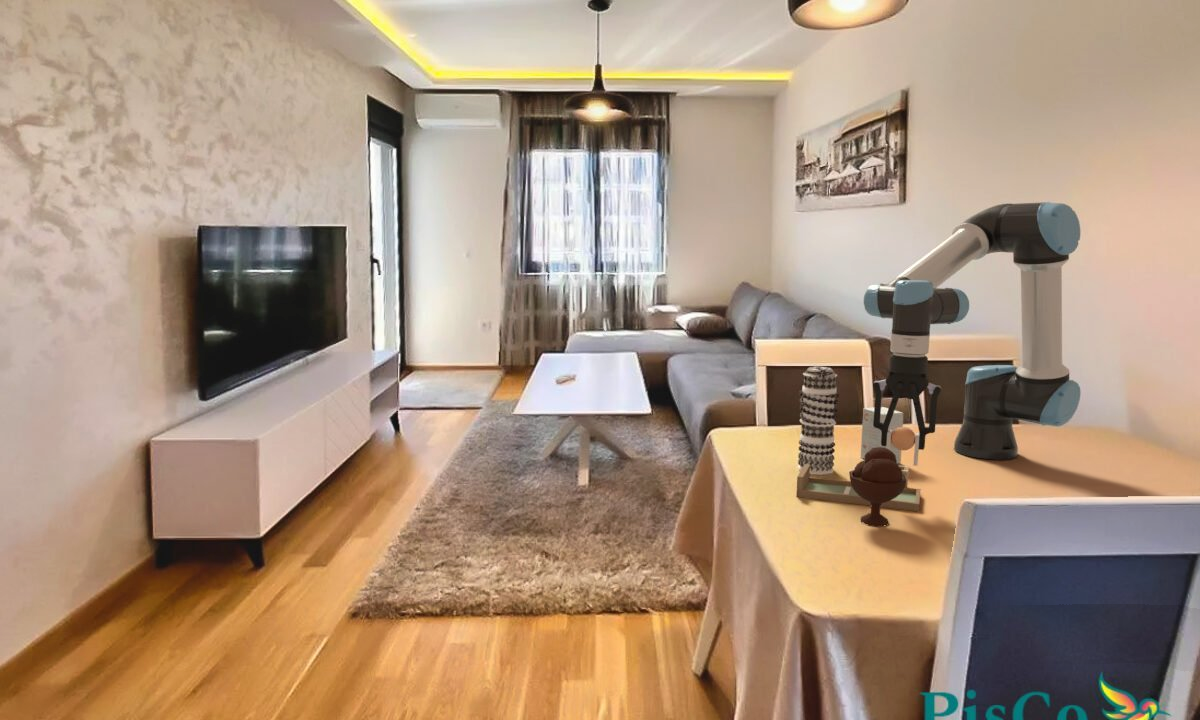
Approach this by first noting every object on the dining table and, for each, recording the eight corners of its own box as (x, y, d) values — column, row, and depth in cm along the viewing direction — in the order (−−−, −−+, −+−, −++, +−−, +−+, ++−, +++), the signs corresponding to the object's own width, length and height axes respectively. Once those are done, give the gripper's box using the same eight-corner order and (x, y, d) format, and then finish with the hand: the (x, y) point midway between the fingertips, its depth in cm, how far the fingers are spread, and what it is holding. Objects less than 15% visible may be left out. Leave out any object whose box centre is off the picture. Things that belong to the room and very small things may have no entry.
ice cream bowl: (837, 513, 173) (841, 442, 170) (890, 512, 174) (894, 441, 171) (857, 531, 162) (862, 456, 160) (913, 530, 163) (918, 455, 161)
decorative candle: (816, 477, 198) (821, 372, 194) (788, 467, 206) (792, 366, 202) (843, 471, 203) (848, 369, 199) (814, 462, 210) (819, 363, 207)
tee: (907, 486, 191) (908, 466, 190) (906, 492, 187) (908, 471, 186) (887, 484, 193) (888, 464, 192) (885, 489, 189) (887, 469, 188)
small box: (901, 463, 210) (904, 412, 208) (880, 465, 208) (883, 414, 206) (880, 455, 218) (883, 406, 216) (859, 457, 215) (862, 407, 213)
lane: (920, 496, 184) (921, 476, 184) (918, 511, 174) (920, 490, 174) (803, 482, 193) (804, 463, 193) (796, 496, 183) (797, 476, 183)
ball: (915, 448, 180) (916, 425, 180) (914, 453, 176) (916, 430, 175) (890, 446, 182) (891, 423, 181) (889, 451, 177) (890, 428, 177)
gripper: (862, 353, 176) (855, 462, 179) (955, 359, 169) (947, 471, 173) (865, 349, 183) (859, 453, 186) (955, 354, 176) (946, 462, 179)
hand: (901, 462), depth 179 cm, fingers closed on ball, 5 cm apart
